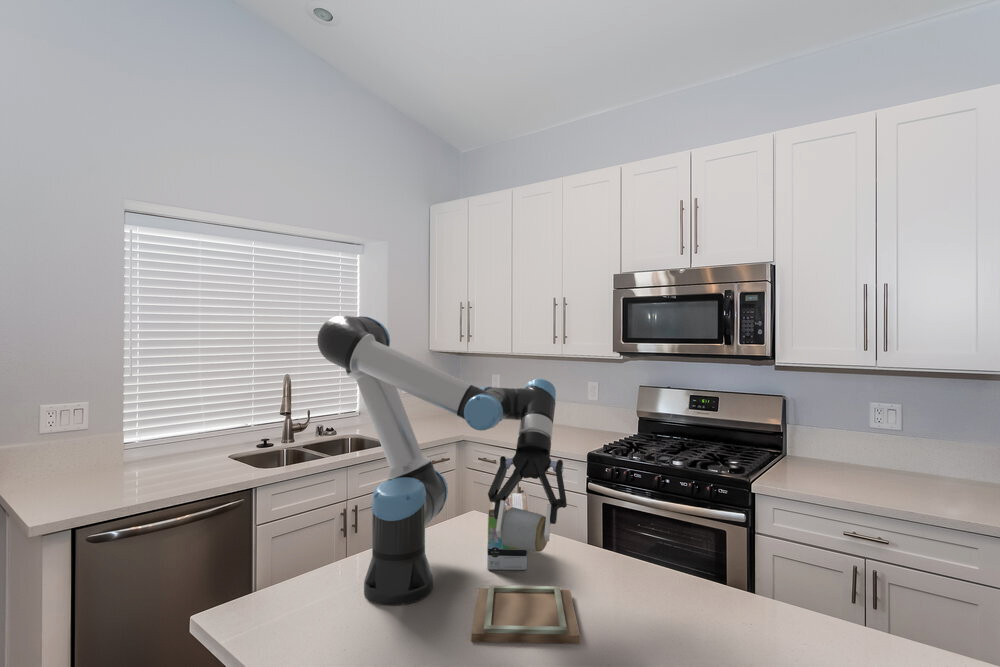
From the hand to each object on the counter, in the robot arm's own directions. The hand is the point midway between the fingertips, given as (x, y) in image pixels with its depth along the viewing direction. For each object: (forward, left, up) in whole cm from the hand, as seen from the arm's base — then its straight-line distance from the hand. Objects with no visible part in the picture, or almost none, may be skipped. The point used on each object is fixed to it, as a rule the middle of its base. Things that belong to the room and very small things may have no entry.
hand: (522, 536), depth 106 cm
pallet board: (0, +3, -18) cm, 18 cm away
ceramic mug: (+1, +5, -4) cm, 6 cm away
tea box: (-4, +32, -18) cm, 37 cm away
